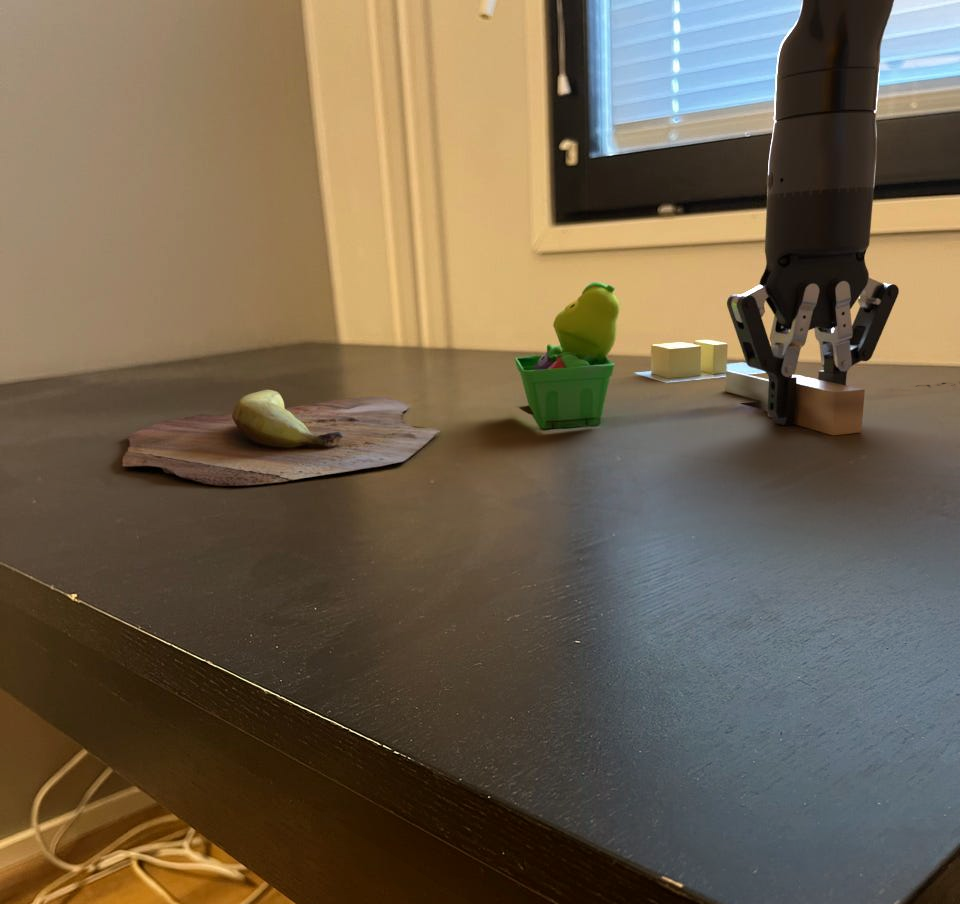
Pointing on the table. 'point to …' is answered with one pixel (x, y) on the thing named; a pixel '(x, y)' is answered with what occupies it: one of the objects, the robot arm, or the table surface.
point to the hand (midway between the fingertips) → (805, 419)
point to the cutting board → (279, 440)
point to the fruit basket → (574, 362)
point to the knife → (808, 402)
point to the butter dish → (734, 367)
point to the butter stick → (676, 360)
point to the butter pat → (713, 356)
